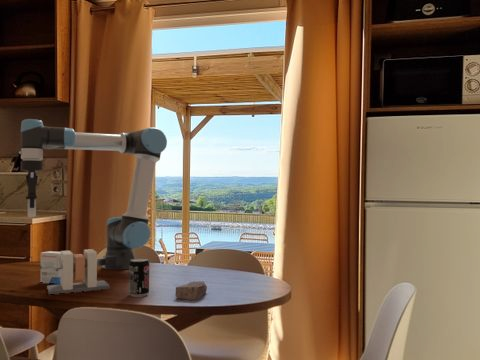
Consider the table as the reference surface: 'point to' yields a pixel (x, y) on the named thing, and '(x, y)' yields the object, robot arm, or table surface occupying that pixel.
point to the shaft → (100, 262)
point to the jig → (67, 275)
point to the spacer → (79, 267)
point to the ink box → (50, 267)
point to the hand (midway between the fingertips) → (31, 216)
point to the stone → (191, 290)
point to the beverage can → (138, 277)
